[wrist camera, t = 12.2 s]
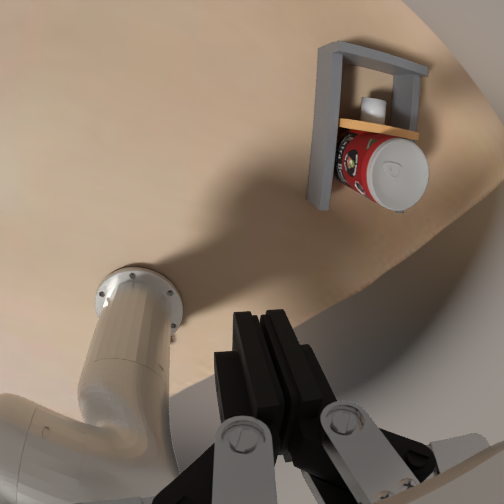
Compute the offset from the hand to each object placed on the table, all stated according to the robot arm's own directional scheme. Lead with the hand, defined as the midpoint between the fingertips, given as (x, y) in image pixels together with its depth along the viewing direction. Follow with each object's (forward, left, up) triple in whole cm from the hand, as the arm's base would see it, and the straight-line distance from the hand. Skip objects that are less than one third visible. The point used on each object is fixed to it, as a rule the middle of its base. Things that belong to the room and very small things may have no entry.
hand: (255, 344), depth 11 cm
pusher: (+9, -19, -29) cm, 36 cm away
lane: (+7, -18, -29) cm, 35 cm away
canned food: (+3, -18, -29) cm, 35 cm away
